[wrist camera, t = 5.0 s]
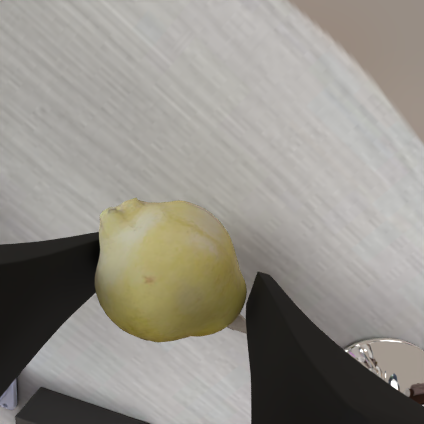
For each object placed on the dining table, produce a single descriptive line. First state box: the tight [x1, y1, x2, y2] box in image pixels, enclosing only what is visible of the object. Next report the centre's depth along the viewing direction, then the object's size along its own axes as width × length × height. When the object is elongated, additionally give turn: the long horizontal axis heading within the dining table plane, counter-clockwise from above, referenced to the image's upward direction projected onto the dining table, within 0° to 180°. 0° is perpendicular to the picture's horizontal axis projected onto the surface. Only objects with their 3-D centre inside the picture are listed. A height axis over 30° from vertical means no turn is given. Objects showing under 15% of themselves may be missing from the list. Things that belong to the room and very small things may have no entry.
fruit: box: [95, 198, 247, 342], centre depth 9 cm, size 6×6×10 cm
